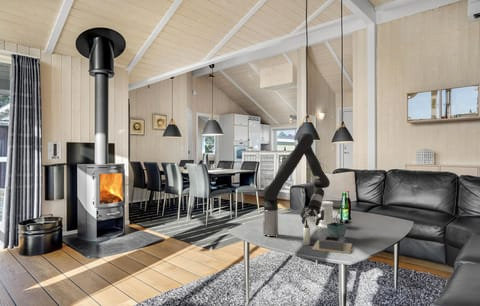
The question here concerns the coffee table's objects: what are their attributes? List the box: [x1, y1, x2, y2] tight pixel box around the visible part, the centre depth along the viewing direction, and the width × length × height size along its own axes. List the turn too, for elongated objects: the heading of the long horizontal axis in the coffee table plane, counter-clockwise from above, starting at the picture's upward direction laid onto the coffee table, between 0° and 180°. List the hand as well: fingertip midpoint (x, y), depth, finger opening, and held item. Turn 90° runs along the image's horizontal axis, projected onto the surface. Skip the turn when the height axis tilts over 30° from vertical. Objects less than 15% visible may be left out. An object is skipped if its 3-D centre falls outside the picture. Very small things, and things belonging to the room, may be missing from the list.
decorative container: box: [317, 200, 334, 230], centre depth 222 cm, size 12×12×18 cm
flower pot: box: [326, 221, 347, 237], centre depth 191 cm, size 9×9×9 cm
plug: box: [302, 218, 311, 246], centre depth 180 cm, size 4×4×15 cm
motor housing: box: [311, 234, 353, 255], centre depth 172 cm, size 20×16×5 cm
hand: (309, 224), depth 184 cm, fingers open, 8 cm apart
